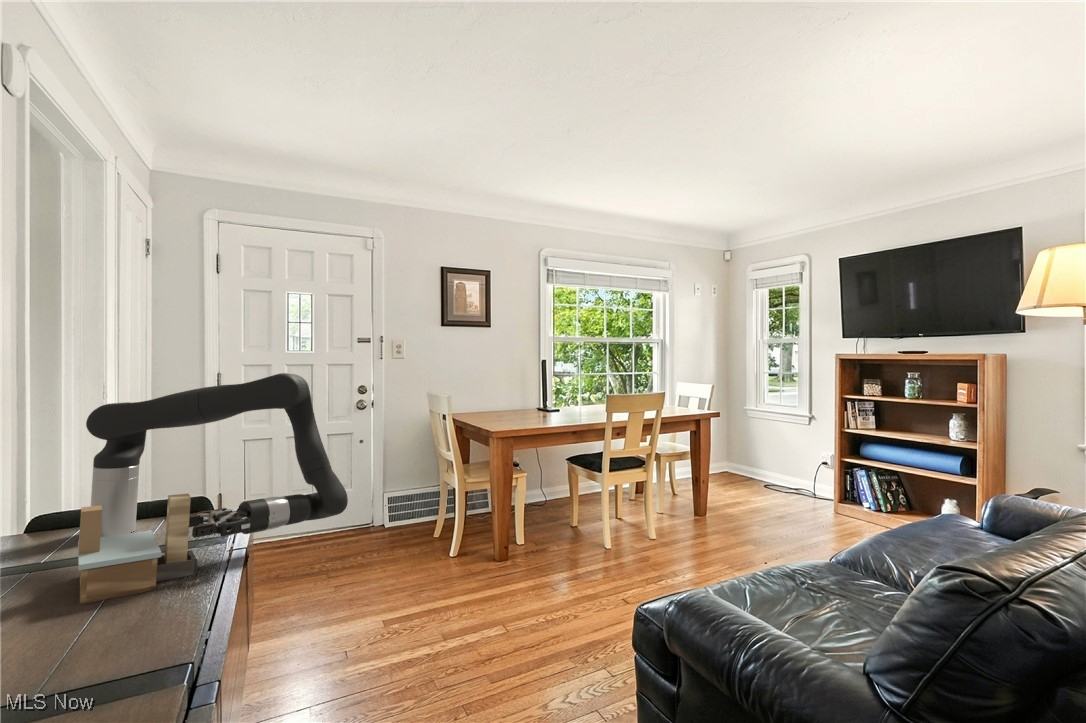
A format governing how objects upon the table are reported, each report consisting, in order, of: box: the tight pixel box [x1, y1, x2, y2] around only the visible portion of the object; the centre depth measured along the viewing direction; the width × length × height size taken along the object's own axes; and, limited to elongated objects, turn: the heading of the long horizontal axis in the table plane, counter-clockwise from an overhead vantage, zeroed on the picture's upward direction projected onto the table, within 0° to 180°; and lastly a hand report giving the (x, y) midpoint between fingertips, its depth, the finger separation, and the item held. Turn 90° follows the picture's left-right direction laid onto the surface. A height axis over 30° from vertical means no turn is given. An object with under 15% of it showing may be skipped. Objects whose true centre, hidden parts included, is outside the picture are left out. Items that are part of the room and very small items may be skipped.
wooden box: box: [78, 549, 198, 605], centre depth 106 cm, size 16×18×6 cm
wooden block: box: [164, 493, 192, 564], centre depth 110 cm, size 4×4×16 cm
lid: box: [77, 505, 162, 572], centre depth 104 cm, size 17×12×9 cm
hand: (185, 528), depth 111 cm, fingers open, 8 cm apart
